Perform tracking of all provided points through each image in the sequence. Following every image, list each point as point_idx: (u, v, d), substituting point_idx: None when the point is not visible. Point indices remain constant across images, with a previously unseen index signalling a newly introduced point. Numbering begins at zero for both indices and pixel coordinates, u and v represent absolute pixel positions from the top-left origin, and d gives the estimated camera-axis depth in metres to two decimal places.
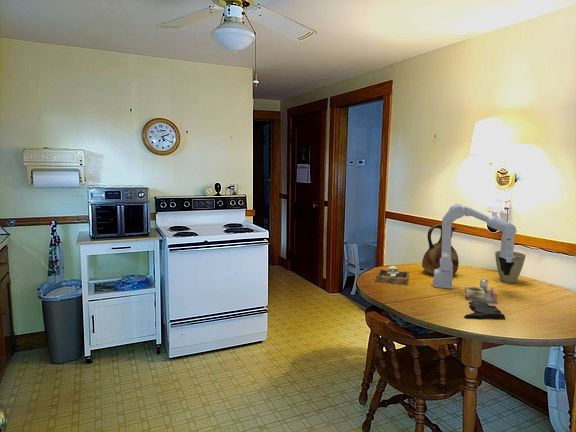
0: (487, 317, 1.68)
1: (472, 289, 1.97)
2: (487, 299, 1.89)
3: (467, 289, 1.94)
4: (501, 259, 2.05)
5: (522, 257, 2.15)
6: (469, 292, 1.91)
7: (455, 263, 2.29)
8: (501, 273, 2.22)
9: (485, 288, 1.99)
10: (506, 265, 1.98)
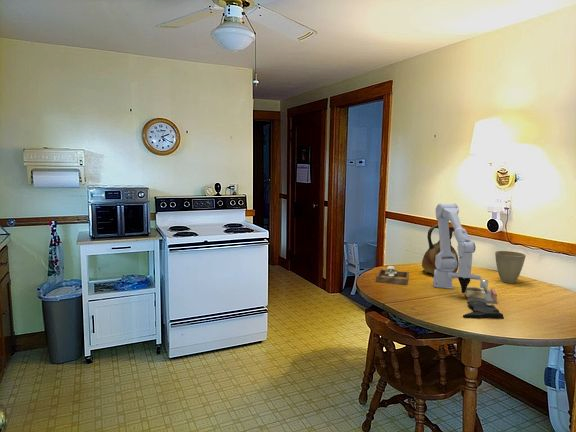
0: (486, 316, 1.69)
1: (472, 289, 1.96)
2: (487, 299, 1.89)
3: (467, 289, 1.94)
4: None
5: (522, 257, 2.15)
6: (469, 292, 1.91)
7: None
8: (501, 273, 2.22)
9: (485, 288, 1.99)
10: None
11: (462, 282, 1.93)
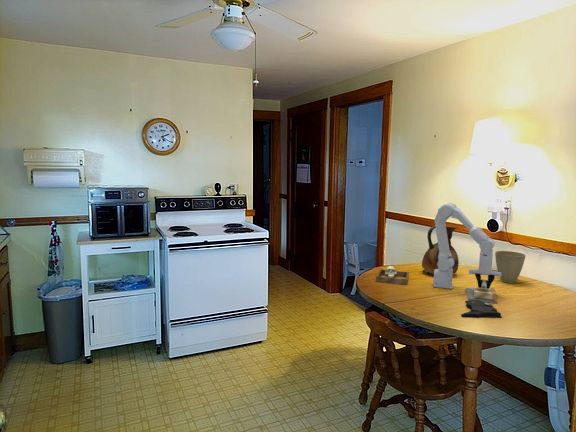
0: (484, 316, 1.70)
1: (480, 290, 1.95)
2: (487, 299, 1.89)
3: (475, 290, 1.92)
4: (488, 276, 2.01)
5: (522, 257, 2.15)
6: (477, 293, 1.90)
7: (455, 263, 2.29)
8: (501, 273, 2.22)
9: None
10: None
11: (479, 278, 1.99)
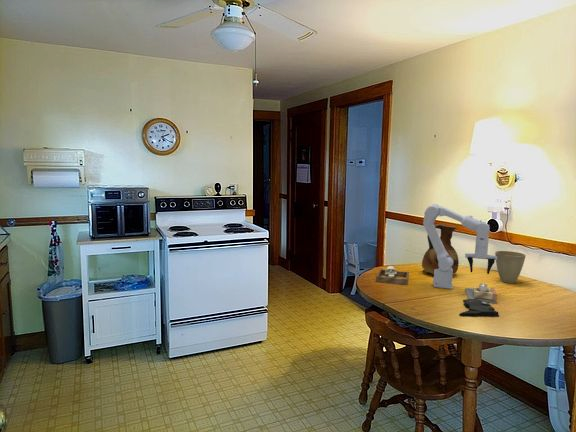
0: (481, 315, 1.71)
1: None
2: (487, 299, 1.89)
3: (475, 290, 1.92)
4: (488, 260, 2.03)
5: (522, 257, 2.15)
6: (477, 293, 1.90)
7: (455, 263, 2.29)
8: (501, 273, 2.22)
9: None
10: None
11: (471, 261, 2.02)
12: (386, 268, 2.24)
